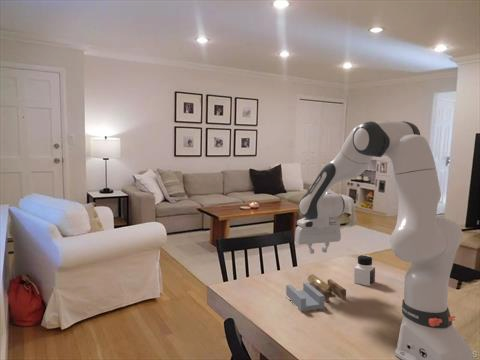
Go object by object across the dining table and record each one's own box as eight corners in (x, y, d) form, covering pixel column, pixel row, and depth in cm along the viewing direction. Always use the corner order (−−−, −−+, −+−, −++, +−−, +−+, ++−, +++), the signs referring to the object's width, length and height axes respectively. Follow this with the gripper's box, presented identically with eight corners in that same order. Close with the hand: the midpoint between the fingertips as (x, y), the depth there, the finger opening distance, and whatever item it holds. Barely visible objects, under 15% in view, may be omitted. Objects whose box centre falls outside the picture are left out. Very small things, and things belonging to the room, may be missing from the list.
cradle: (324, 308, 130) (324, 295, 130) (300, 312, 128) (300, 298, 127) (307, 294, 144) (307, 282, 143) (286, 296, 141) (286, 284, 141)
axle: (331, 294, 144) (331, 285, 144) (323, 295, 143) (322, 286, 142) (316, 282, 157) (315, 273, 157) (307, 283, 156) (307, 274, 156)
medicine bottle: (370, 286, 151) (370, 259, 150) (353, 283, 156) (354, 256, 155) (375, 281, 157) (375, 255, 156) (359, 278, 161) (359, 253, 160)
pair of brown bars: (346, 299, 138) (346, 289, 138) (325, 302, 136) (325, 292, 136) (330, 288, 150) (330, 279, 149) (311, 290, 148) (311, 281, 147)
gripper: (336, 218, 155) (335, 248, 156) (293, 221, 150) (293, 252, 151) (343, 221, 149) (343, 252, 150) (299, 224, 144) (299, 256, 145)
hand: (318, 252), depth 150 cm, fingers open, 5 cm apart
